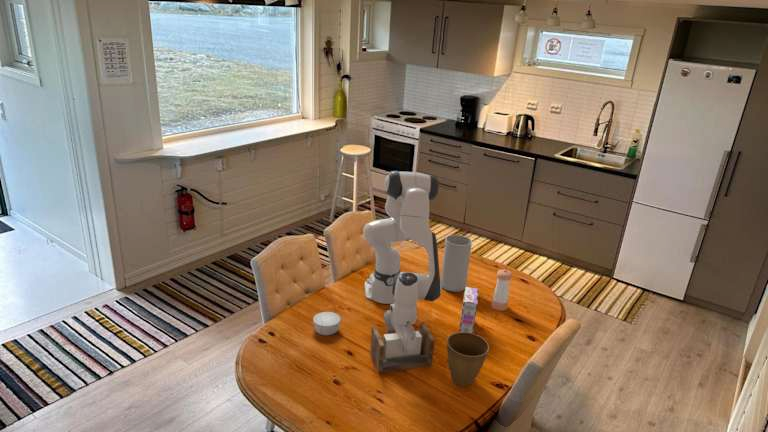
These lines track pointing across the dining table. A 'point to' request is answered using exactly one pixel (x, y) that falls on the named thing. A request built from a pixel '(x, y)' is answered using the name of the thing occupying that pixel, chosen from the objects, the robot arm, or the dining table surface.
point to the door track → (402, 362)
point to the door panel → (399, 346)
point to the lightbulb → (388, 321)
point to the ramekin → (326, 323)
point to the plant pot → (465, 356)
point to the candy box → (469, 309)
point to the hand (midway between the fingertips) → (401, 346)
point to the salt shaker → (501, 290)
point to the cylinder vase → (456, 262)
